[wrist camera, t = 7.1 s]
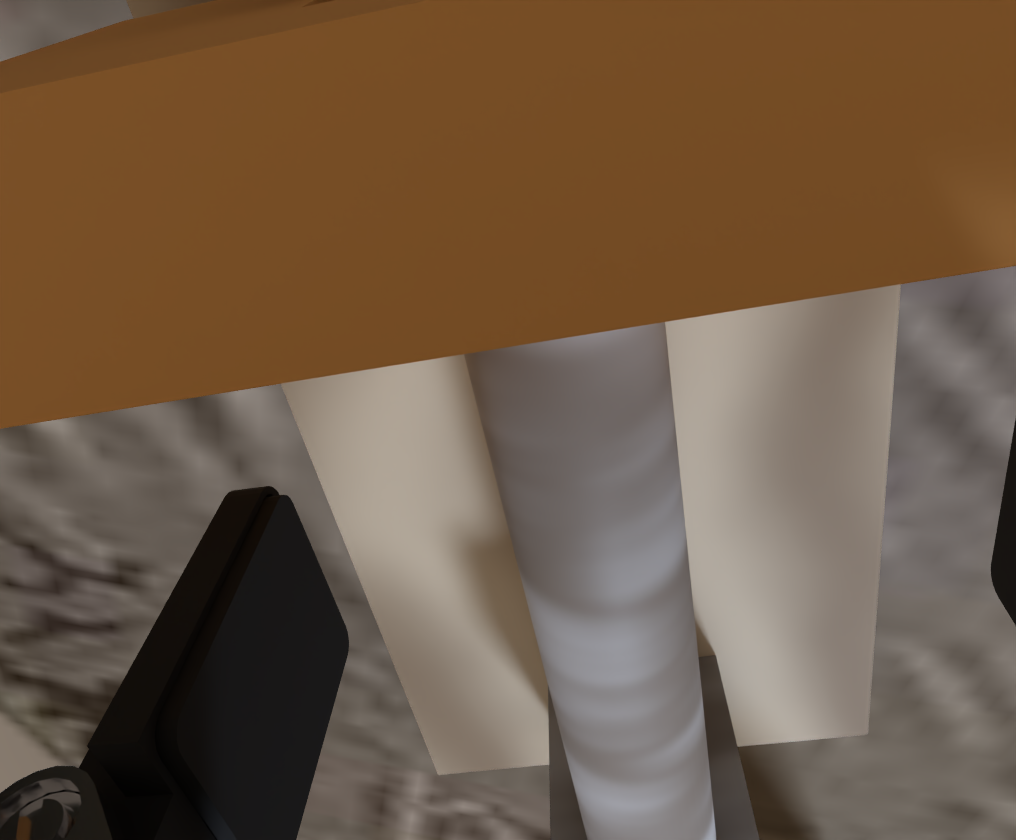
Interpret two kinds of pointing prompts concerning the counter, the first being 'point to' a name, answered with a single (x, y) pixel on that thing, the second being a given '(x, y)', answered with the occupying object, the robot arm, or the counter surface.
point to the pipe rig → (623, 547)
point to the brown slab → (475, 179)
